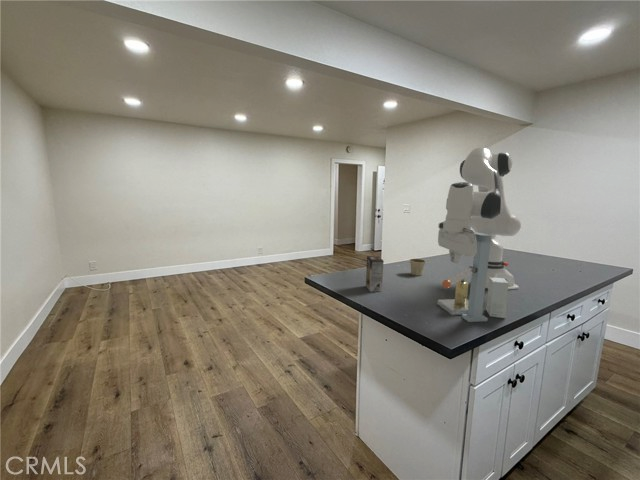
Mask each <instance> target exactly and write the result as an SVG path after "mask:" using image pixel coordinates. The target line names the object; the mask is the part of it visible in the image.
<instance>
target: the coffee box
mask: <svg viewBox="0 0 640 480" xmlns="http://www.w3.org/2000/svg"><path fill="white" fill-rule="evenodd" d="M365 272H366V273H365V287H366V288H367V289H368V291H369V292H382V290H383V276H384V259H382V258H381V257H380V256H379V255H378V256H374V255H367V256H366V271H365Z"/></svg>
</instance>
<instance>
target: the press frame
mask: <svg viewBox="0 0 640 480" xmlns="http://www.w3.org/2000/svg"><path fill="white" fill-rule="evenodd" d="M473 232H474V234H475V236H476V239H477V252H476V255H475V256H473V262H472V267H474V268H476V269H477V272H476V273H473V274H471V277H470V278H471V280H470V287H469V288H470V289H469V297H468V300H469V304H468V313H467V314H462V315H461V319H464V320H465V321H466V322H469V323H474V322H478V323H479V322H488V320H489V318H488V317H487V316H485V315H484V314H482V309H484V308H483V307H484V300H485V299H484V298H485V291H486V288H485V284H486V276H487V268H488V259H489V251H490V243H491V235H487V234H482V233H478V232H475V231H474V230H473Z"/></svg>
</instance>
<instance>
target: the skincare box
mask: <svg viewBox="0 0 640 480" xmlns="http://www.w3.org/2000/svg"><path fill="white" fill-rule="evenodd" d="M508 284H509V283H508V282H507V281H506V280H505V279H504V278H494V277H489V285H488V289H487V299H486V307H485V308H486V309H485V310H486V312H487V314H488V315H489V317H492V318H498V319H499V318H500V319H506V315H507V303H508V291H509V290H508Z"/></svg>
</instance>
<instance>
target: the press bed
mask: <svg viewBox="0 0 640 480" xmlns="http://www.w3.org/2000/svg"><path fill="white" fill-rule="evenodd" d="M454 302H455V298H453V299H450V298H449V299H448V298H447V299H446V298H445V299H437V305H438V306H440V308H442V309H443V310H445V311H446V312H448V313H449V315H452V316H462V314H467V313H468V304H469V298H467V301H466V306H463V307H462V306H457V305H455V304H454ZM484 314H485V309H484V308H483V309H482V315H484Z"/></svg>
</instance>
